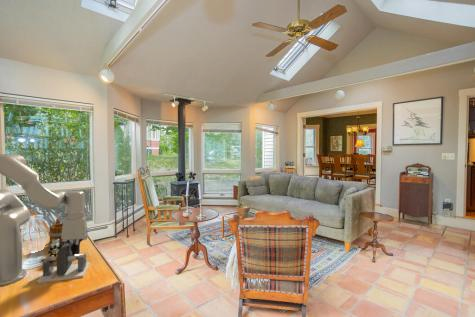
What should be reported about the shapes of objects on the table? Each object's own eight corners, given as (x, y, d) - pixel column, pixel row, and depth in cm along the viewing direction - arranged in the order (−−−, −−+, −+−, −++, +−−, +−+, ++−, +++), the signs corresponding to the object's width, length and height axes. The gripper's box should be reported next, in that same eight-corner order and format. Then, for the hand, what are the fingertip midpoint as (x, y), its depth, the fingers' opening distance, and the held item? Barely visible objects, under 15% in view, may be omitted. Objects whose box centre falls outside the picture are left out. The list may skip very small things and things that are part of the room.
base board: (36, 283, 106) (36, 281, 106) (48, 269, 118) (48, 267, 118) (83, 277, 112) (83, 274, 112) (90, 264, 124) (90, 262, 124)
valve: (48, 250, 139) (47, 258, 129) (48, 239, 138) (47, 246, 129) (62, 247, 143) (62, 255, 133) (62, 237, 142) (62, 244, 133)
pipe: (42, 276, 110) (42, 260, 110) (47, 271, 115) (47, 255, 114) (83, 271, 116) (83, 255, 115) (86, 266, 120) (86, 251, 120)
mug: (49, 251, 137) (49, 226, 137) (46, 242, 149) (46, 219, 149) (71, 246, 145) (71, 222, 144) (67, 238, 157) (67, 216, 156)
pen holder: (78, 252, 137) (78, 236, 136) (81, 258, 130) (81, 240, 130) (57, 257, 130) (57, 240, 130) (60, 264, 123) (60, 245, 123)
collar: (56, 275, 109) (56, 252, 109) (65, 264, 120) (65, 243, 119) (64, 274, 110) (64, 251, 110) (72, 263, 121) (72, 242, 120)
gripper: (54, 219, 110) (54, 257, 111) (90, 217, 116) (90, 253, 116) (60, 214, 117) (59, 250, 118) (94, 212, 123) (93, 247, 123)
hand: (74, 251), depth 117 cm, fingers closed
